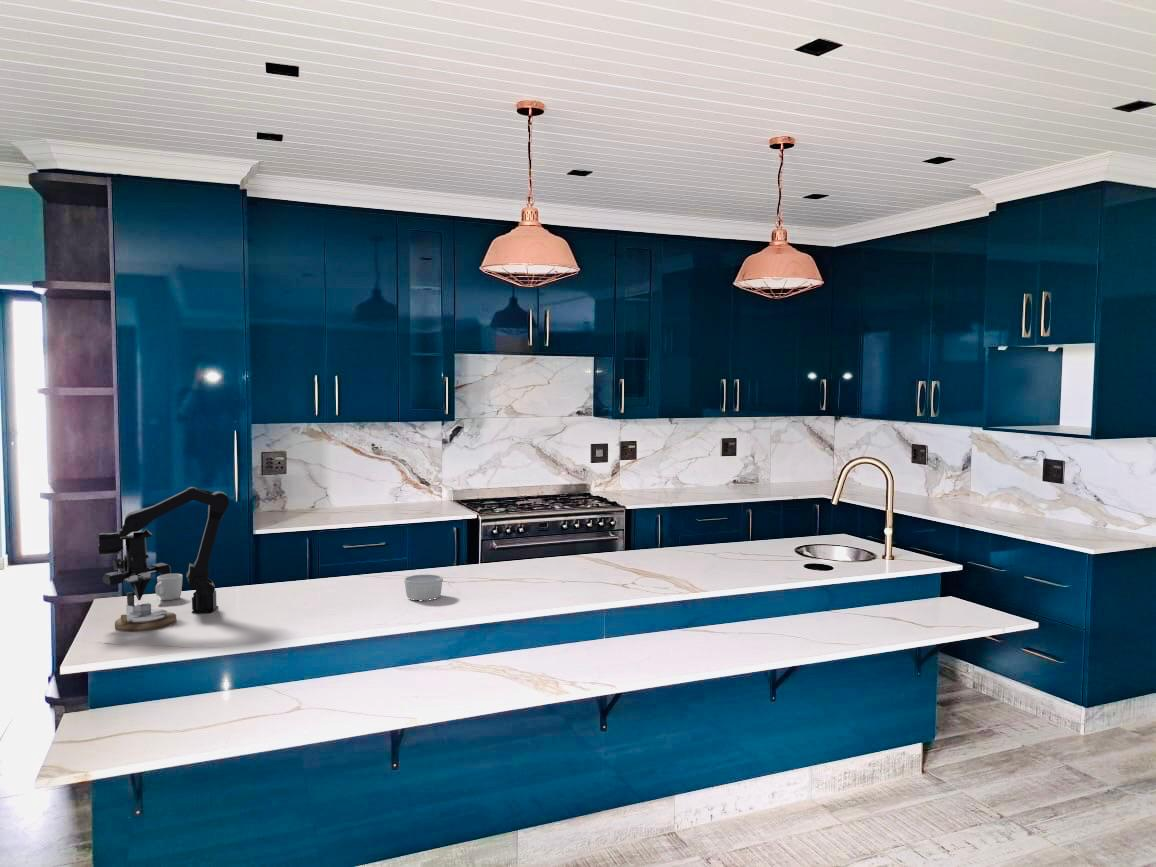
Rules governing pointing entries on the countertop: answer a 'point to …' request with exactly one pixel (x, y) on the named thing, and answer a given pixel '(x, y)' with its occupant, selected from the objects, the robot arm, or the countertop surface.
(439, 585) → the ramekin
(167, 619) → the plinth
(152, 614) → the light grey irregular piece
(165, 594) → the cup
